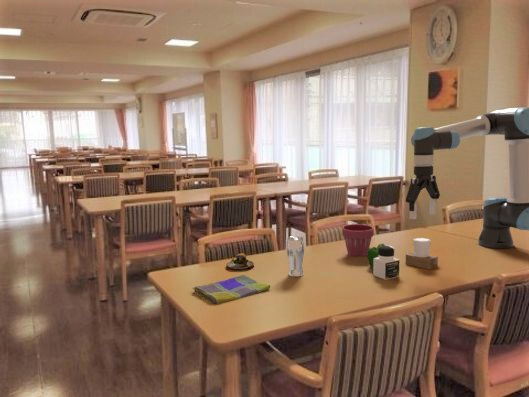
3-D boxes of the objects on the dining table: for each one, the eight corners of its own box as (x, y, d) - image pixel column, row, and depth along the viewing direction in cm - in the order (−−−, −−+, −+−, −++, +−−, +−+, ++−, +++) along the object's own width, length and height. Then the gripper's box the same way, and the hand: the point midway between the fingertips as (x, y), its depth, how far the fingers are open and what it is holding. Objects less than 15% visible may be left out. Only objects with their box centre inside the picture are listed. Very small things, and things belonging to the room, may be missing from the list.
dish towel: (272, 291, 166) (272, 284, 166) (212, 307, 153) (212, 299, 152) (247, 279, 180) (247, 272, 180) (191, 292, 167) (190, 285, 167)
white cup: (431, 258, 187) (431, 241, 186) (414, 257, 188) (414, 241, 187) (428, 253, 193) (429, 237, 192) (412, 253, 195) (412, 237, 194)
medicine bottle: (385, 280, 173) (385, 249, 171) (372, 275, 179) (373, 245, 178) (399, 277, 176) (400, 247, 175) (386, 272, 183) (387, 243, 181)
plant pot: (368, 259, 201) (368, 231, 199) (337, 256, 208) (337, 229, 206) (377, 252, 213) (377, 225, 211) (348, 249, 220) (348, 223, 218)
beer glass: (306, 272, 185) (305, 236, 183) (302, 277, 179) (301, 240, 177) (290, 271, 188) (289, 235, 185) (285, 276, 181) (284, 239, 179)
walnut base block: (414, 260, 198) (415, 251, 197) (437, 266, 189) (437, 256, 188) (405, 263, 194) (405, 254, 193) (428, 269, 185) (428, 259, 184)
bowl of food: (220, 268, 196) (220, 251, 195) (240, 262, 204) (240, 245, 203) (240, 273, 188) (239, 256, 186) (259, 266, 196) (259, 250, 195)
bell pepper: (366, 269, 188) (366, 245, 186) (368, 263, 195) (368, 241, 194) (387, 270, 185) (387, 246, 183) (388, 265, 192) (389, 242, 191)
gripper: (433, 162, 196) (432, 211, 199) (396, 167, 181) (396, 219, 184) (449, 163, 190) (448, 213, 193) (412, 168, 175) (412, 222, 178)
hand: (423, 216), depth 188 cm, fingers open, 13 cm apart
